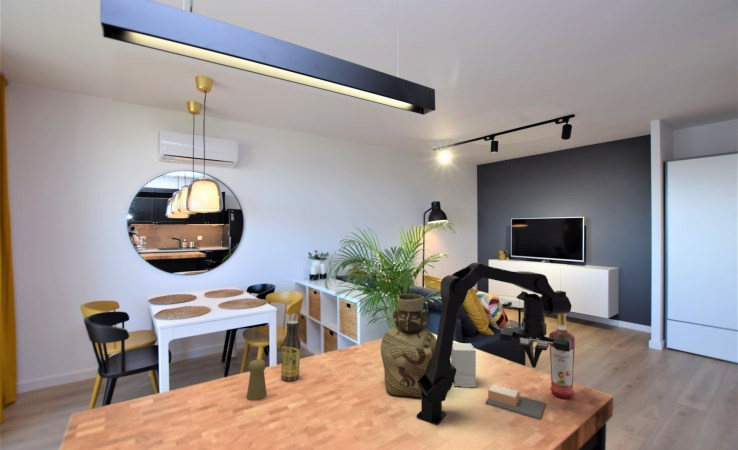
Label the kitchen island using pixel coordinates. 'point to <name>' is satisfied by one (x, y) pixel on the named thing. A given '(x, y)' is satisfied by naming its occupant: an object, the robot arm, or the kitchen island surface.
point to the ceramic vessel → (407, 347)
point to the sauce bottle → (291, 353)
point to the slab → (503, 395)
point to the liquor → (562, 362)
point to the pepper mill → (256, 380)
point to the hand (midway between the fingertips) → (534, 367)
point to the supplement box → (464, 364)
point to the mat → (522, 407)
